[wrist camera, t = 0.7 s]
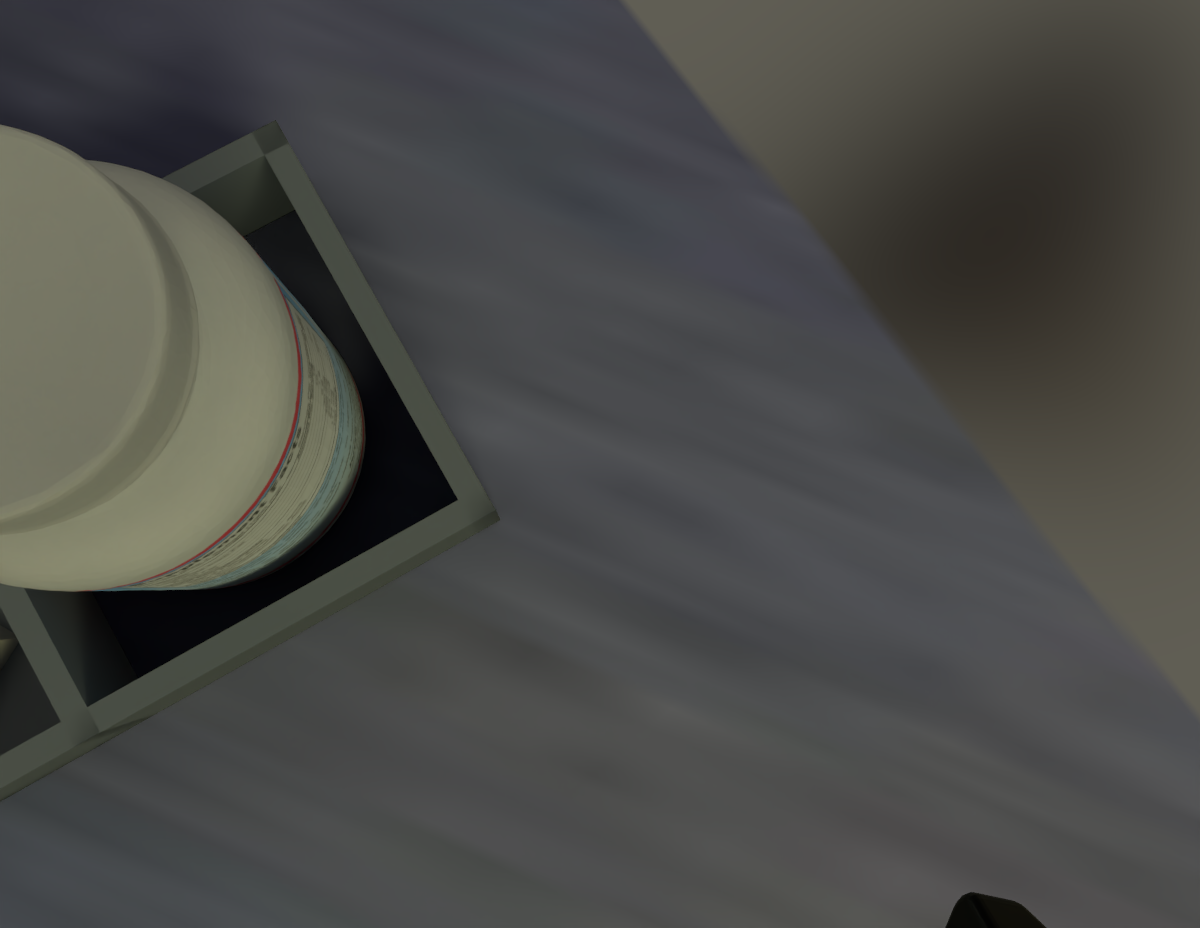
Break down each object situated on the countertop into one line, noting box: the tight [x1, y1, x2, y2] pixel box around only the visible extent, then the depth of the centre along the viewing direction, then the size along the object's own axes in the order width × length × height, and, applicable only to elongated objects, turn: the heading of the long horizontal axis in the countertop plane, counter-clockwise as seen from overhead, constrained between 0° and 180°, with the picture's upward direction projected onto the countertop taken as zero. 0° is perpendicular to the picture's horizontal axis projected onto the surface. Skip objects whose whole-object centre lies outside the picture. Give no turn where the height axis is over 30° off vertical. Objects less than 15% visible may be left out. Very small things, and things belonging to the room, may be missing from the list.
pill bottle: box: [0, 125, 366, 592], centre depth 18 cm, size 6×6×11 cm
